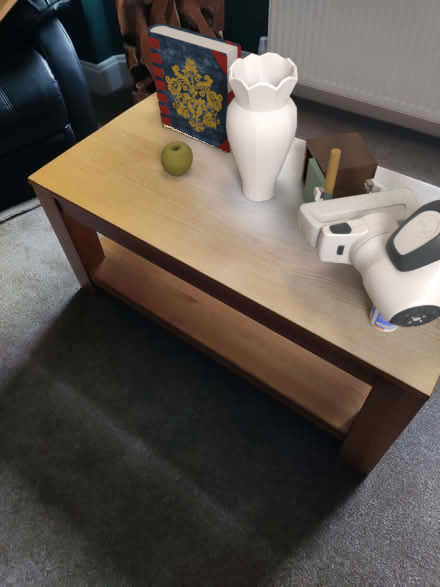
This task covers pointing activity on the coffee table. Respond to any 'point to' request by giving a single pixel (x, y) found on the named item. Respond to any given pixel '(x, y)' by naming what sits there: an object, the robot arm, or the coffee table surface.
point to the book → (193, 81)
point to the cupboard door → (321, 177)
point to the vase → (261, 120)
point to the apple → (176, 158)
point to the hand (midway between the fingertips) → (343, 185)
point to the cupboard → (342, 162)
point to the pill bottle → (380, 321)
